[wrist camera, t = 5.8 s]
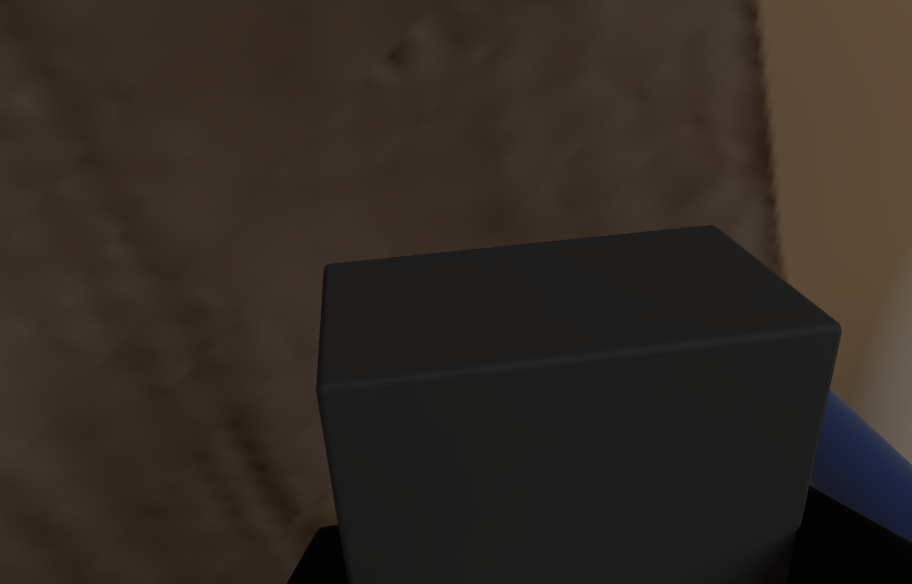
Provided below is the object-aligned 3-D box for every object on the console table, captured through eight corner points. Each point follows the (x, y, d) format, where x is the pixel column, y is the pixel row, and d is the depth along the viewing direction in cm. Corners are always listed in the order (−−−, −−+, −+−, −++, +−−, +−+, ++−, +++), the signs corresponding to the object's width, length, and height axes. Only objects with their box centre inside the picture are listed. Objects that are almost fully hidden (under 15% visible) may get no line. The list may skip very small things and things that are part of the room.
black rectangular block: (322, 261, 8) (314, 387, 6) (714, 222, 8) (846, 326, 6) (377, 636, 11) (386, 821, 8) (673, 591, 11) (755, 755, 9)
